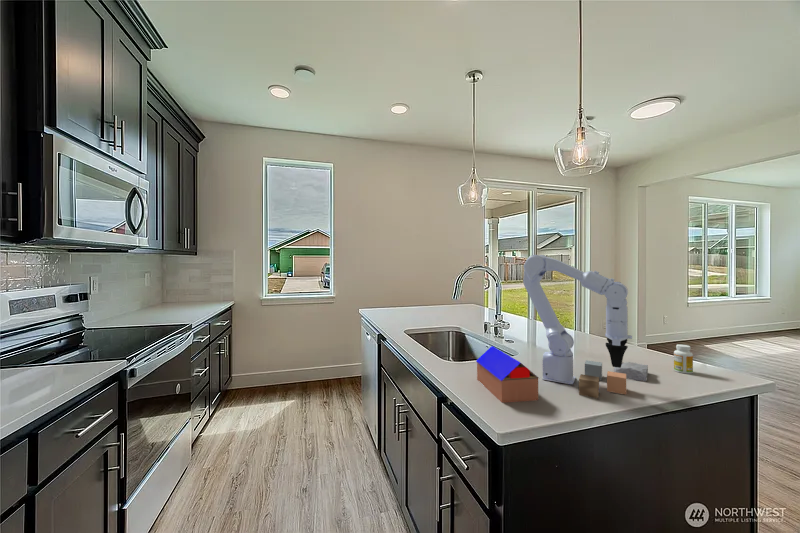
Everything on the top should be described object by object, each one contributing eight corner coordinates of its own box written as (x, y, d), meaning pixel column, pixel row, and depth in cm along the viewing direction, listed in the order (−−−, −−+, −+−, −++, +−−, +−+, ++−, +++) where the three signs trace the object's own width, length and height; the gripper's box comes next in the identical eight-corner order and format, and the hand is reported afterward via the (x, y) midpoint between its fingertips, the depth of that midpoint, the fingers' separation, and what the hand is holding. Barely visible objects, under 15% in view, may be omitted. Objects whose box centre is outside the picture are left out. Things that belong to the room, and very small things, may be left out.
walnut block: (578, 395, 102) (578, 378, 102) (580, 389, 106) (580, 374, 106) (597, 398, 99) (597, 381, 99) (599, 393, 103) (599, 377, 103)
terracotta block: (607, 391, 104) (606, 375, 104) (607, 386, 109) (607, 371, 109) (626, 394, 102) (626, 378, 102) (626, 389, 106) (626, 373, 106)
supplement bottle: (691, 370, 123) (691, 344, 123) (694, 375, 118) (694, 348, 118) (672, 368, 126) (672, 343, 126) (675, 372, 121) (675, 346, 121)
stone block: (615, 382, 117) (649, 382, 111) (611, 368, 118) (646, 367, 112) (618, 374, 127) (650, 374, 121) (615, 361, 127) (646, 360, 121)
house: (508, 378, 118) (508, 345, 117) (540, 401, 98) (539, 361, 98) (475, 380, 116) (475, 346, 116) (501, 404, 96) (501, 363, 96)
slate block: (584, 377, 117) (584, 363, 117) (586, 374, 121) (585, 360, 121) (601, 380, 114) (601, 366, 114) (602, 376, 118) (602, 362, 118)
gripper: (632, 325, 97) (632, 372, 97) (631, 318, 109) (631, 360, 109) (604, 323, 101) (604, 368, 101) (606, 316, 113) (606, 356, 113)
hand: (616, 363), depth 105 cm, fingers open, 7 cm apart
